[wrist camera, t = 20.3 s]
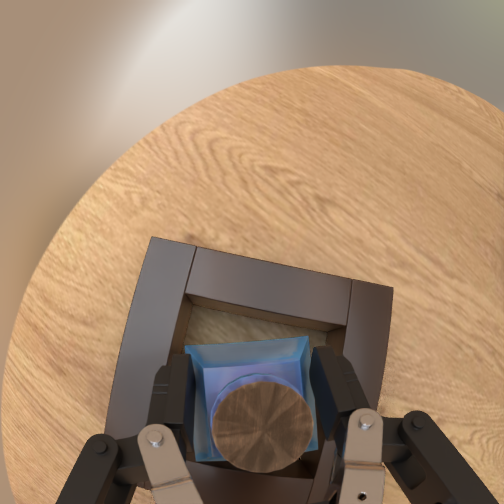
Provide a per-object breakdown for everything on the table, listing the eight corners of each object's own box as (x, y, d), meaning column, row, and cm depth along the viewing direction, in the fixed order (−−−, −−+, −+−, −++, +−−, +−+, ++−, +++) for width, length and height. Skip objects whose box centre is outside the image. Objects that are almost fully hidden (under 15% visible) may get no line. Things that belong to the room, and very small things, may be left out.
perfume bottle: (295, 425, 19) (360, 490, 8) (206, 433, 18) (176, 511, 7) (287, 341, 21) (349, 322, 10) (198, 348, 20) (155, 338, 9)
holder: (119, 455, 17) (99, 471, 13) (164, 256, 22) (151, 235, 19) (329, 494, 17) (346, 516, 13) (369, 299, 22) (393, 287, 18)
